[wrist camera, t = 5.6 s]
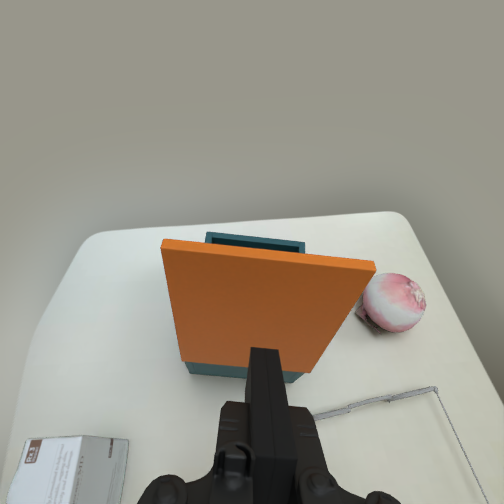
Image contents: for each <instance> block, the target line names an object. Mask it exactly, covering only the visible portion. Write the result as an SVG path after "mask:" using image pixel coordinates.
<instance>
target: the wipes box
mask: <svg viewBox="0 0 504 504" xmlns="http://www.w3.org/2000/svg"><path fill="white" fill-rule="evenodd" d="M205 243H210V244H220V245H229V246H238V247H247V248H257V249H266V250H275V251H285V252H294V253H303V254H305V242H298V241H289V240H280V239H271V238H261V237H252V236H243V235H234V234H225V233H216V232H207V233H206V238H205ZM184 362H185V361H184ZM185 364H186V366H187V368H188V370H189V373H191V374H202V375H213V376H223V377H234V378H245V379H247V372H248V367H239V366H228V365H217V364H206V363H196V362H185ZM282 372H283V378H284V382H289V383H293V382H294V381H296V380H297V379H298V378H299V377H301V376H302V375H303V374H304V373H303V372H292V371H282Z"/></svg>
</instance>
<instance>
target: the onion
mask: <svg viewBox="0 0 504 504" xmlns="http://www.w3.org/2000/svg"><path fill="white" fill-rule="evenodd" d="M425 307H426V301H425V296H424V293H423V291H422V290H421V288H420V287H419V286H418V284H417V283H416V282H414V281H412V280H410V279H409V278H407V277H406V276H403V275H400V274H395V273H383V274H379V275H377V276H374V277H373V278H372V279H371V280H370V282H369V283H368V285H367V286H366V288H365V289H364V294H363V304H362V305H361V306H360V307H359V308H358V309H357V310H356V312H355V313H357V314H358V315H359V316H360V317H361V318H362V319H363V320H364V321H365V322H366V323H368V322H367V321H366V319H368V318H367V316H366V315H369V317H370V318H371V320H372V321H373V322H374V323H375V324H377V325H378V326H379V327H381V328H383V329H385V330H387V331H390V332H404V331H406V330H409V329H411V328H412V327H413V326H414V325H415V324H417V323H418V322H419V321H420V319H421V317H422V316H423V314H424V311H425ZM368 324H369V323H368ZM369 325H371V324H369ZM371 327H373V328H375V329H376V330H377V331H378V332H379V333H380V334H381V332H380V331H379V330H378V329H377V328H378V327H375V326H372V325H371Z"/></svg>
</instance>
